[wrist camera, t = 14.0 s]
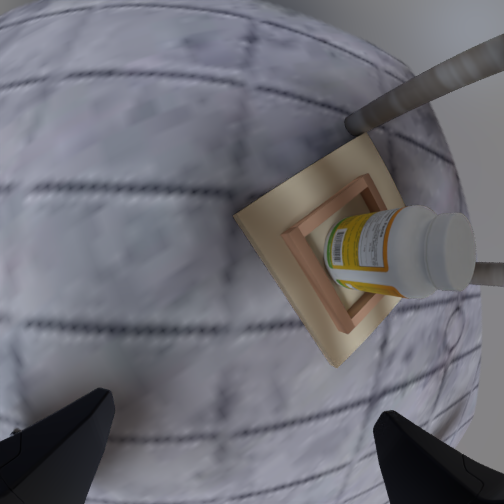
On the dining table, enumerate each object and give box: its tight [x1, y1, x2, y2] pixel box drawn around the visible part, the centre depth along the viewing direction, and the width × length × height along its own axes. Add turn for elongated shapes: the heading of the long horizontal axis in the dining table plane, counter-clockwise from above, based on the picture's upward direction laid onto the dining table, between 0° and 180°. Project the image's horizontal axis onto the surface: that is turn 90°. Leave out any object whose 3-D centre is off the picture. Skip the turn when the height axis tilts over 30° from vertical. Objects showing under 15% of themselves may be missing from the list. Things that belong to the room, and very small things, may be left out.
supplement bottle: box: [324, 205, 476, 299], centre depth 15 cm, size 5×5×10 cm
